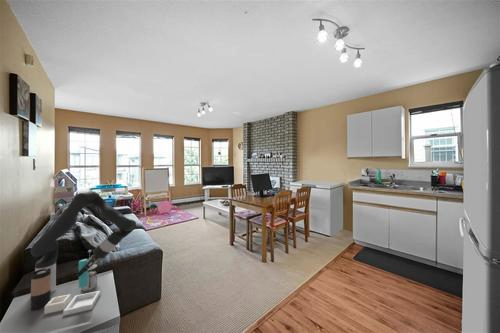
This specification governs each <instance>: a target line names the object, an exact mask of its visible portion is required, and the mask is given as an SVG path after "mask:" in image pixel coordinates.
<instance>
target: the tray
mask: <svg viewBox="0 0 500 333" xmlns="http://www.w3.org/2000/svg"><path fill="white" fill-rule="evenodd" d="M100 295H101V290H97V291H91V292H85V293H82V294H77V295H74V296H73V298H71V302H70V303H69V304H68V305H67V307H66V308H65V309H64V310H62V313H63V314H62V315H63V317H65V316H70V315H73V314H77V313H83V312H86V311H90V310H93V308H94V306H95V305H96V303H97V301H98V300H99V297H100Z"/></svg>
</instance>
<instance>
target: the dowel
mask: <svg viewBox="0 0 500 333" xmlns="http://www.w3.org/2000/svg"><path fill="white" fill-rule="evenodd" d="M88 260H89V258H88V259H87V258H84V259H81V260H79V261H78V272H79V271H80V270H81V269H82V268H83V267H84V266H85V264H86V263H87V262H88ZM87 264H88V263H87ZM85 268H86V267H85ZM86 269H87V268H86ZM88 272H89V271H88V270H87V271H86V272H84V273H83V274H82V275H81V276H80V277H78V288H82V287H85V286H87V285H88Z"/></svg>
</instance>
